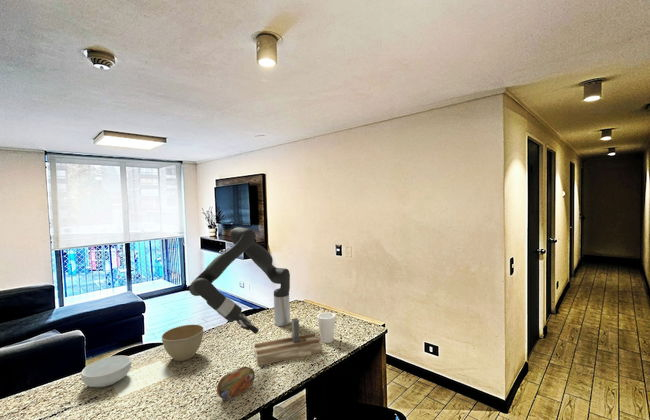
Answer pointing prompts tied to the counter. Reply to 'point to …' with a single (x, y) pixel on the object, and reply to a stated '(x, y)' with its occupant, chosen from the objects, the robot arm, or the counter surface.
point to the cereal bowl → (106, 371)
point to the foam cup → (326, 326)
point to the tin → (235, 383)
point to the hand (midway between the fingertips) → (257, 331)
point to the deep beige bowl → (182, 341)
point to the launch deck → (286, 349)
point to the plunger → (295, 331)
